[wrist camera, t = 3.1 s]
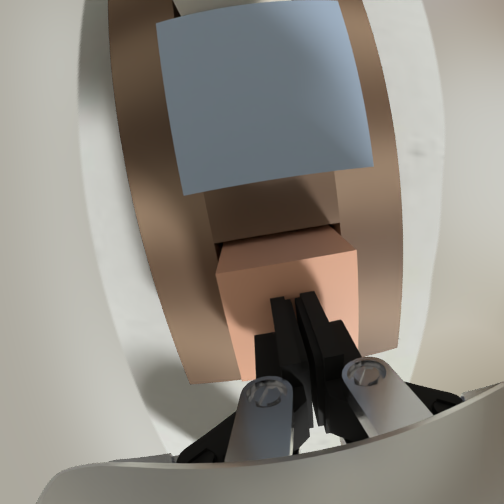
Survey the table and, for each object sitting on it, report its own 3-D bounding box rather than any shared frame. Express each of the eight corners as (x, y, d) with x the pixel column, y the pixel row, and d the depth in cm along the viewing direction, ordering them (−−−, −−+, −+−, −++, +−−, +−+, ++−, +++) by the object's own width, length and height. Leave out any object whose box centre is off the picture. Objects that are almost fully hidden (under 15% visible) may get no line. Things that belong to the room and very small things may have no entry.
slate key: (192, 75, 12) (155, 23, 6) (301, 59, 11) (337, 0, 6) (211, 179, 13) (183, 195, 7) (320, 161, 13) (373, 166, 7)
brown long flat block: (135, -19, 12) (109, -54, 7) (308, -45, 12) (322, -85, 7) (200, 336, 20) (190, 384, 15) (368, 307, 20) (397, 347, 15)
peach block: (226, 231, 16) (215, 274, 10) (318, 216, 16) (356, 250, 10) (243, 312, 17) (242, 381, 12) (326, 298, 17) (357, 359, 12)
